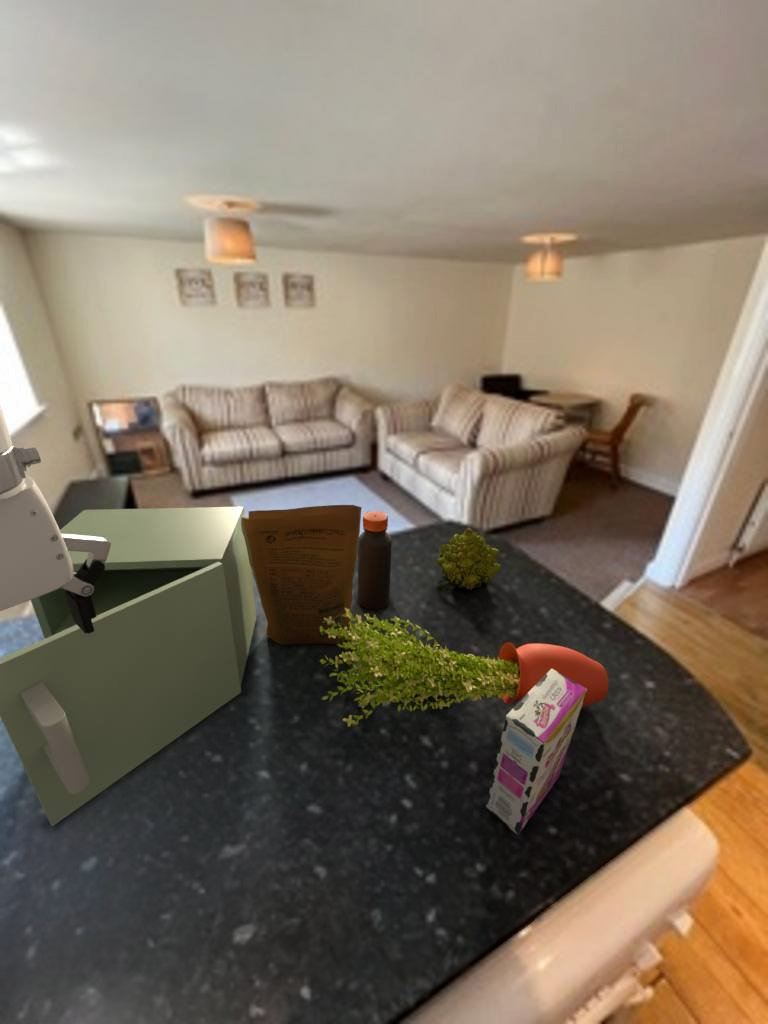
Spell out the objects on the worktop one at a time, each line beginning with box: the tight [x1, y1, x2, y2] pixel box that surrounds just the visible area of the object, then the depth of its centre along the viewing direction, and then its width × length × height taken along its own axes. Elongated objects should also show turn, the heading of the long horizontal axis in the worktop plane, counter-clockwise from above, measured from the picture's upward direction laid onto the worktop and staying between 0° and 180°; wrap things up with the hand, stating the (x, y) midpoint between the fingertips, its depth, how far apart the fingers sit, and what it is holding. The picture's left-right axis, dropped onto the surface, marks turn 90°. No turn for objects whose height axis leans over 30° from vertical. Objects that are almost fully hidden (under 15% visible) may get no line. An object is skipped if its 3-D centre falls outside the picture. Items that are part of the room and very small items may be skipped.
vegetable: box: [435, 527, 502, 592], centre depth 101 cm, size 15×16×15 cm
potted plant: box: [319, 608, 610, 728], centre depth 72 cm, size 19×14×45 cm
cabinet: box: [30, 506, 257, 687], centre depth 74 cm, size 18×26×24 cm
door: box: [0, 562, 242, 827], centre depth 56 cm, size 8×26×24 cm, turn 142°
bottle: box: [357, 510, 393, 610], centre depth 91 cm, size 7×7×20 cm
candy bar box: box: [485, 669, 587, 836], centre depth 55 cm, size 11×5×16 cm, turn 135°
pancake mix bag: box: [241, 504, 362, 646], centre depth 78 cm, size 7×19×28 cm, turn 93°
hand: (25, 653), depth 41 cm, fingers open, 9 cm apart
